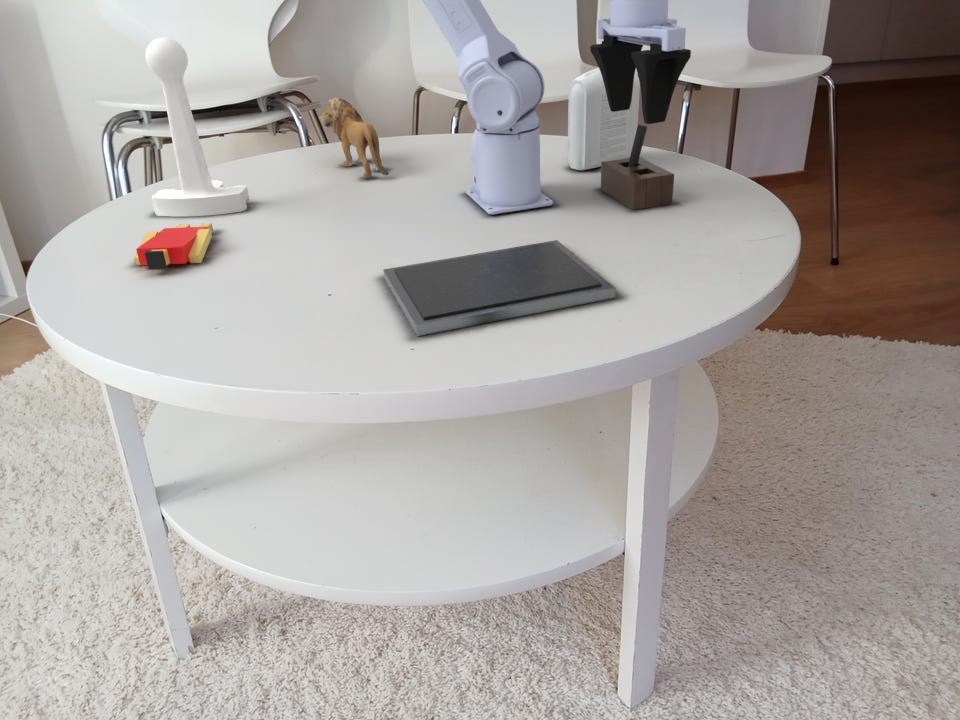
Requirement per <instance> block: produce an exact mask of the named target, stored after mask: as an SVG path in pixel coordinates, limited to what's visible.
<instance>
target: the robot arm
mask: <svg viewBox="0 0 960 720" xmlns="http://www.w3.org/2000/svg"><path fill="white" fill-rule="evenodd" d="M609 1H610V3H609V5H610V6H609V7H610V8H609V18H601V19H597V39H598V40H602V41H601V43H597V44H591V45H590V46H589V47H590V48H589V49H590V54H592V57H593V58H594V60H595V62H596V65H597V68H599V69H600V72H601V75H602V78H603V81H604V85H605V90H606V94H607V99H608V103H609V107H610V111H612V112H615V111H621V110H628V109H629V108H630V105H631V100H632V92H633V82H634V74H635V72H636V74H637V75H638V78H639V82H640V94H641V95H640V96H641V97H640V98H641V111H642V118H643V122H644V124H646V125H652V124H657V123H658V124H659V123H664V122H666V119H667V116H668V112H669V109H670V106H671V102H672V99H673V98H672V97H673V94H674V92H675V89H676V86H677V84H678V81H679V78H680V77H681V74H682V73H683V71H684V70H685V67H686V65H687V64H688V62H689V60H691V56H692V50H691V49H688V48H686V30H687V28H686V27H684V26H680V25H678V22H677V21H678V19H674V18H668V17H669V16H668V15H669V0H609ZM422 2H423V4H424V5H425V7H426V8H427V10H428V12H429V13H430V15H431V17H432V18H433V20H434V21H435V24H436V25H437V26H438V28H439V30H440V31H441V33H442V34H443V36H444V38H445V40H446V41H447V43H448V44H449V46H450V47H451V49H452V51H453V52H454V54H455V55H456V57H457V78H458V81H459V83H460V84H461V86H462V87H463V89H464V92H465V95H466V102H467V107H468V111H469V113H470V115H471V117H472V119H473V120H474V121H475V123H476V129H474V132H473V133H472V137H471V141H470V153H471V154H470V155H471V171H472V172H471V173H472V186H473V187H472V188H467V189H466V190H465V193H466V195H467V196H468V197H469V198H471V199H472V200H473V201H474V202H475V203H476V204H477V205H478V206H479V207H480V208H482V210H484V211H485V212H486V213H487V214H488V215H492V216H493V215H498V214H506V213H511V212H517V211H525V210H530V209H531V210H532V209H537V208H544V207H551V206H552V205H554V201H553V199H551V198H550V197H548V196H547V195H546V194H544V193H542V192H541V140H540V139H541V132H540V131H541V130H540V129H541V128H540V124H541V122H540V118H539V117H538V114H537V112H536V109H537V108H538V107H539V105H540V104H541V102H542V100H543V98H544V94H545V88H546V87H545V80H544V76H543V74H542V72H541V70H540V69H539V67H538V66H537V65H536V64H535V63H534V62H532V61H530V60H529V59H527V58H526V57H524V56H523V55H522V53H521V52H520V51H519V49H518V47H517V45H516V44H515V43H514V42H513V41H512V40H510V39H509V38H508V37H507V36H505V35H504V34H503V33H501V32H500V31H499V30H498V28H497V26H496V25H495V23H494V22H493V19H492V18H491V16H490V15H489V12H488V10H487V9H486V8H485V6H484V5H483V3H482V1H481V0H422ZM644 46H647V47H649V49H645V50H642V49H643V47H644Z"/></svg>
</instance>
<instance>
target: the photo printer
mask: <svg viewBox="0 0 960 720" xmlns="http://www.w3.org/2000/svg"><path fill="white" fill-rule="evenodd" d="M640 94H641V87H640V81H639V77H638V73H637V71H635V74H634V82H633V92H632V100H631V105H630V108H629V109H628V110H621V111H615V112H612V111H610V107H609V103H608V99H607V94H606V90H605V85H604V81H603V78H602V75H601V72H600V69H599V67H596V68H594V69H590V70H588V71H586V72H584V73H582V74H580V75H578V76H576V78H575V79H573V80H572V81H571V83H570V85H569V88H568V103H567V104H568V106H567V109H568V110H567V111H568V112H567V114H568V115H567V164H568V165H569V167H570V168H571V169H572V170H575V171H586V170H591V169H596V168H601V162H605V161H613V160H619V159H626V158H627V159H628V158H630V155H631V151H632V147H633V142H634V138H635V134H636V130H637V126H638V124H639V109H640Z"/></svg>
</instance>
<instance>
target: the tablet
mask: <svg viewBox="0 0 960 720" xmlns="http://www.w3.org/2000/svg"><path fill="white" fill-rule="evenodd" d="M382 271H383V279H384V280H385V282H386V284H387V286H388V287H389V290H390V291H391V293H392V295H393V297H394V298H395V299H396V302H397V303H398V305H399V307H400V309H401V310H402V312H403V314H404V315H405V317H406V319H407V321H408V323H409V325H410V326H411V328H412V330H413V331H414V333H415V335H416V336H417V337H420V336H425V335H430V334H431V335H432V334H435V333H441V332H447V331H452V330H456V329H457V330H458V329H462V328H468V327H472V326H478V325H483V324H487V323H494V322H499V321H503V320H509V319H514V318H519V317H524V316H529V315H530V316H531V315H534V314H535V315H536V314H538V313H545V312H550V311H554V310H561V309H565V308H570V307H571V308H572V307H576V306H581V305H586V304H591V303H596V302H601V301H606V300H612V299H615V298H616V287H615V286H614V285H613V284H612V283H610V282H609V281H608V280H607V279H605V278H604V277H603V276H601V274H599V272H597V271H596V270H594V269H593V268H592V267H591V266H590V265H589V264H587V263H586V262H585V261H584V260H582V259H581V258H580V257H578V256H577V255H576V254H575V253H574V252H573V251H571V250H570V249H569V248H568V247H566V246H565V245H564V244H562V242H560V241H559V240H558V239H555V240H554V239H553V240H549V241H543V242H537V243H531V244H526V245H519V246H514V247H508V248H507V247H506V248H503V249H497V250H490V251H489V250H488V251H485V252H479V253H473V254H467V255H466V254H465V255H461V256H454V257H449V258H443V259H437V260H431V261H425V262H419V263H413V264H408V265H401V266H396V267H390V268H384V269H383V270H382Z"/></svg>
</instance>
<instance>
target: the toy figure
mask: <svg viewBox="0 0 960 720" xmlns="http://www.w3.org/2000/svg"><path fill="white" fill-rule="evenodd" d="M213 232H214V227H213V223H212V222H209V223H208V222H207V223H205V222H204V223H201V224H200V225H198V226H191V224H190V223H185V224H184V223H182V224H181V223H180V224H178V225H177V226H176V227H165V228H163V229H161V230H160V231H158V230H151V231H150V230H148V231H146V233H145V234H144V236H143V239H142V240H141V241H140V244H139V246H138V247H137V248H136V253H135V254H134V256H133V260H134V262H135V265H136V266H147V269H148V270H166V269H168V268H167V267H168V266H169V265H182V264H183V265H184V264H187V263H190V264H202V263H203V260H204V257H205V254H206V253H207V250H208V247H209V245H210V243H211V240H212V237H213V234H212V233H213Z"/></svg>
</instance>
